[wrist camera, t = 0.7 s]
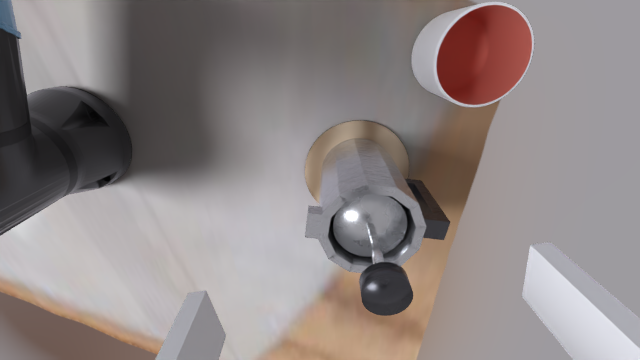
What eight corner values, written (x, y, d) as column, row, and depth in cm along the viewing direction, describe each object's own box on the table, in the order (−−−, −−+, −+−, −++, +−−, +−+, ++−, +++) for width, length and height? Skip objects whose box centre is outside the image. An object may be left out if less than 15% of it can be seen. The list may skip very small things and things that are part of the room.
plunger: (328, 247, 35) (330, 327, 25) (338, 186, 31) (344, 250, 22) (396, 255, 35) (423, 336, 25) (413, 195, 32) (452, 262, 22)
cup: (479, 91, 41) (523, 104, 32) (406, 95, 42) (429, 110, 33) (492, 8, 37) (546, -3, 28) (411, 14, 38) (438, 5, 29)
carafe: (308, 198, 48) (301, 266, 34) (316, 132, 44) (312, 177, 29) (405, 210, 49) (439, 281, 34) (422, 145, 44) (470, 196, 30)
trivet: (300, 209, 50) (300, 211, 49) (311, 113, 43) (310, 114, 42) (395, 220, 50) (396, 222, 50) (420, 127, 44) (421, 128, 43)
